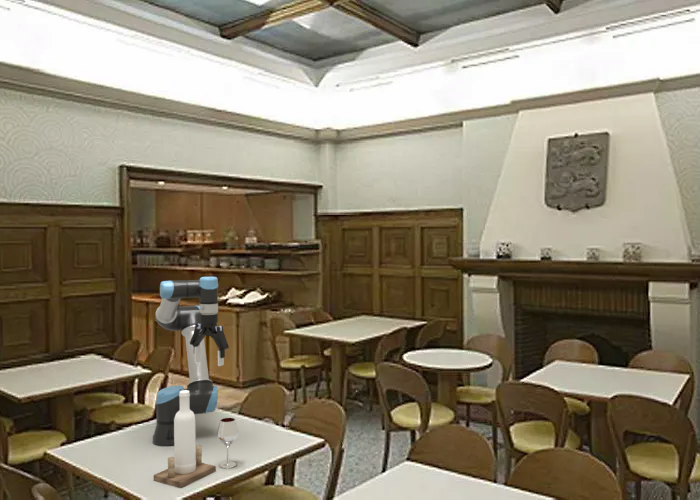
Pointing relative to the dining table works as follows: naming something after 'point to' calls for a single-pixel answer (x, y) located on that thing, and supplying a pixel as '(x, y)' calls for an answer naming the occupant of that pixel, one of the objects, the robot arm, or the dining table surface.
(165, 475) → the stand
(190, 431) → the bottle
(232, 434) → the wineglass
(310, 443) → the dining table surface
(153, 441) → the robot arm
